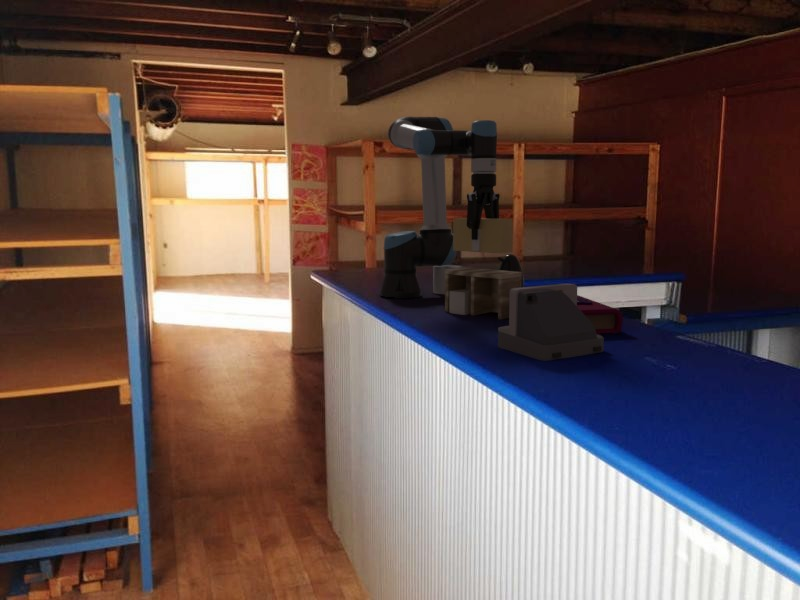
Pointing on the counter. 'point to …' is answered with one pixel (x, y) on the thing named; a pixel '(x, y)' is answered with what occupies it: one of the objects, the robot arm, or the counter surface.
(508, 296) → the shelf unit
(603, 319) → the book
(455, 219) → the box
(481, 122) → the robot arm
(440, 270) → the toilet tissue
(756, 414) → the counter surface
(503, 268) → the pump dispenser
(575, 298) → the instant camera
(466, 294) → the box
